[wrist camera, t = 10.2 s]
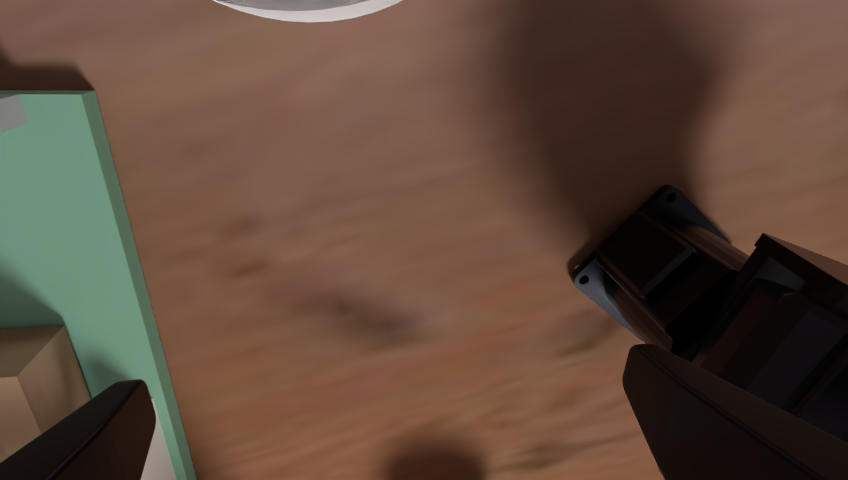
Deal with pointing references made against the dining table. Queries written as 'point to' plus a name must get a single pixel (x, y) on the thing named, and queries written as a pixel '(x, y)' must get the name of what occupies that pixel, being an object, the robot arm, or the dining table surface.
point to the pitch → (80, 255)
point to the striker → (36, 383)
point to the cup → (308, 8)
